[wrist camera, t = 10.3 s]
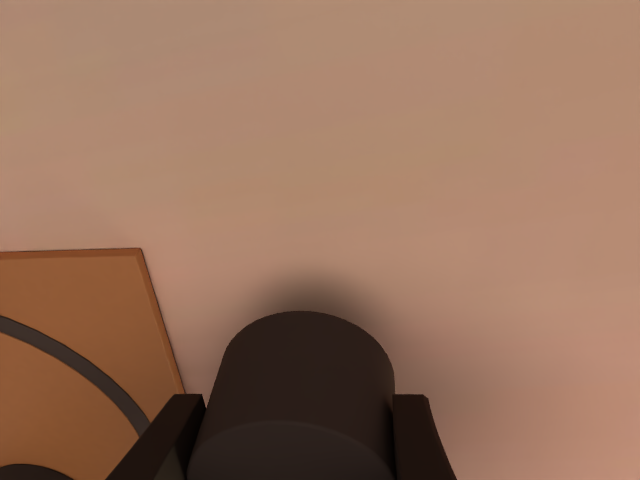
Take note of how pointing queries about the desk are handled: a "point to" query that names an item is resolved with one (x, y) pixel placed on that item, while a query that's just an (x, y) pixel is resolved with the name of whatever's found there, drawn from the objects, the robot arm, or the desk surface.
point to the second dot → (299, 404)
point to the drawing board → (79, 359)
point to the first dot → (30, 473)
